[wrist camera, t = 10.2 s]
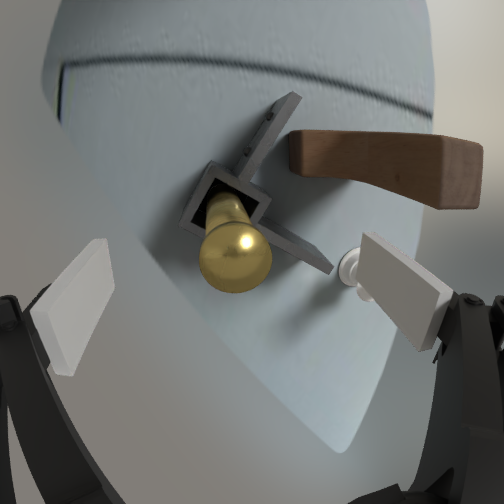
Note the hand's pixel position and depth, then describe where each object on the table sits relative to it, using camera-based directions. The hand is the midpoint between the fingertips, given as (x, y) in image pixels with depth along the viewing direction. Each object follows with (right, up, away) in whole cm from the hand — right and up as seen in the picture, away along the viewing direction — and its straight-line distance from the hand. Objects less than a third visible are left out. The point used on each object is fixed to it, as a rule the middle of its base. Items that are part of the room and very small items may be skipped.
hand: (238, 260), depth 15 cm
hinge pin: (-2, +6, +16) cm, 18 cm away
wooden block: (+9, +11, +16) cm, 22 cm away
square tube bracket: (+4, +8, +17) cm, 19 cm away
